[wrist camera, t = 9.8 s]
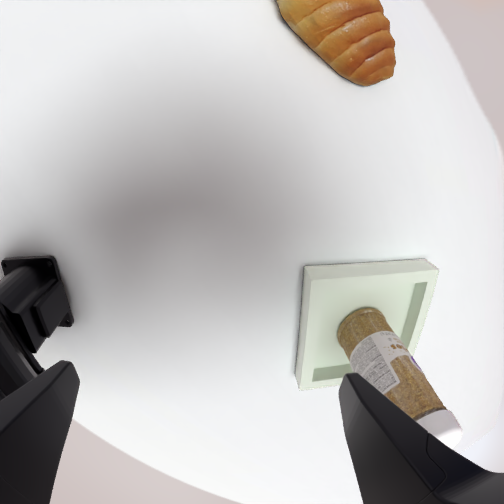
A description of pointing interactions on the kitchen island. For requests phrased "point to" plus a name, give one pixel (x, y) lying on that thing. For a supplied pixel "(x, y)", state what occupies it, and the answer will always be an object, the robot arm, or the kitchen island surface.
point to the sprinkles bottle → (395, 372)
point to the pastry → (345, 36)
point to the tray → (350, 300)
